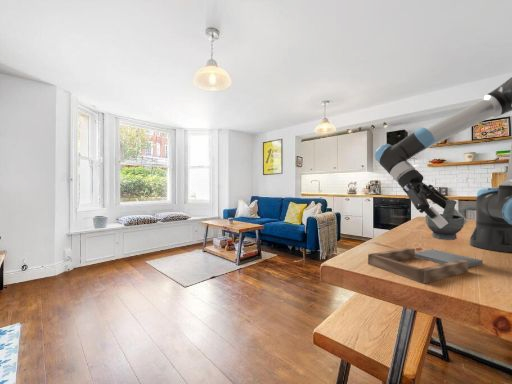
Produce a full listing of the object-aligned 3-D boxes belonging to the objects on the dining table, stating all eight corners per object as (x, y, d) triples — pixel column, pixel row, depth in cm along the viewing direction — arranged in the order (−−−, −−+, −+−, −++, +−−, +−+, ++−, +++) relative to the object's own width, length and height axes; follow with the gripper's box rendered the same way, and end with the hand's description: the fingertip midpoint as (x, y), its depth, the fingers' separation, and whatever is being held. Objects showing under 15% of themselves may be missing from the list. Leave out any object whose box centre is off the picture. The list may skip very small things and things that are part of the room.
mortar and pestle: (454, 243, 71) (455, 203, 70) (420, 237, 79) (420, 201, 79) (470, 236, 77) (470, 199, 76) (436, 231, 85) (436, 198, 84)
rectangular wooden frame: (410, 256, 81) (410, 247, 81) (467, 271, 67) (468, 261, 67) (368, 263, 73) (368, 254, 73) (423, 283, 58) (424, 271, 58)
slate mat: (432, 252, 87) (433, 249, 87) (482, 263, 74) (482, 260, 74) (411, 255, 82) (412, 253, 82) (461, 269, 69) (461, 265, 69)
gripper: (418, 183, 96) (463, 229, 82) (378, 182, 86) (422, 234, 73) (433, 170, 91) (484, 216, 77) (392, 167, 81) (443, 219, 68)
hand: (454, 224), depth 75 cm, fingers closed on mortar and pestle, 10 cm apart
